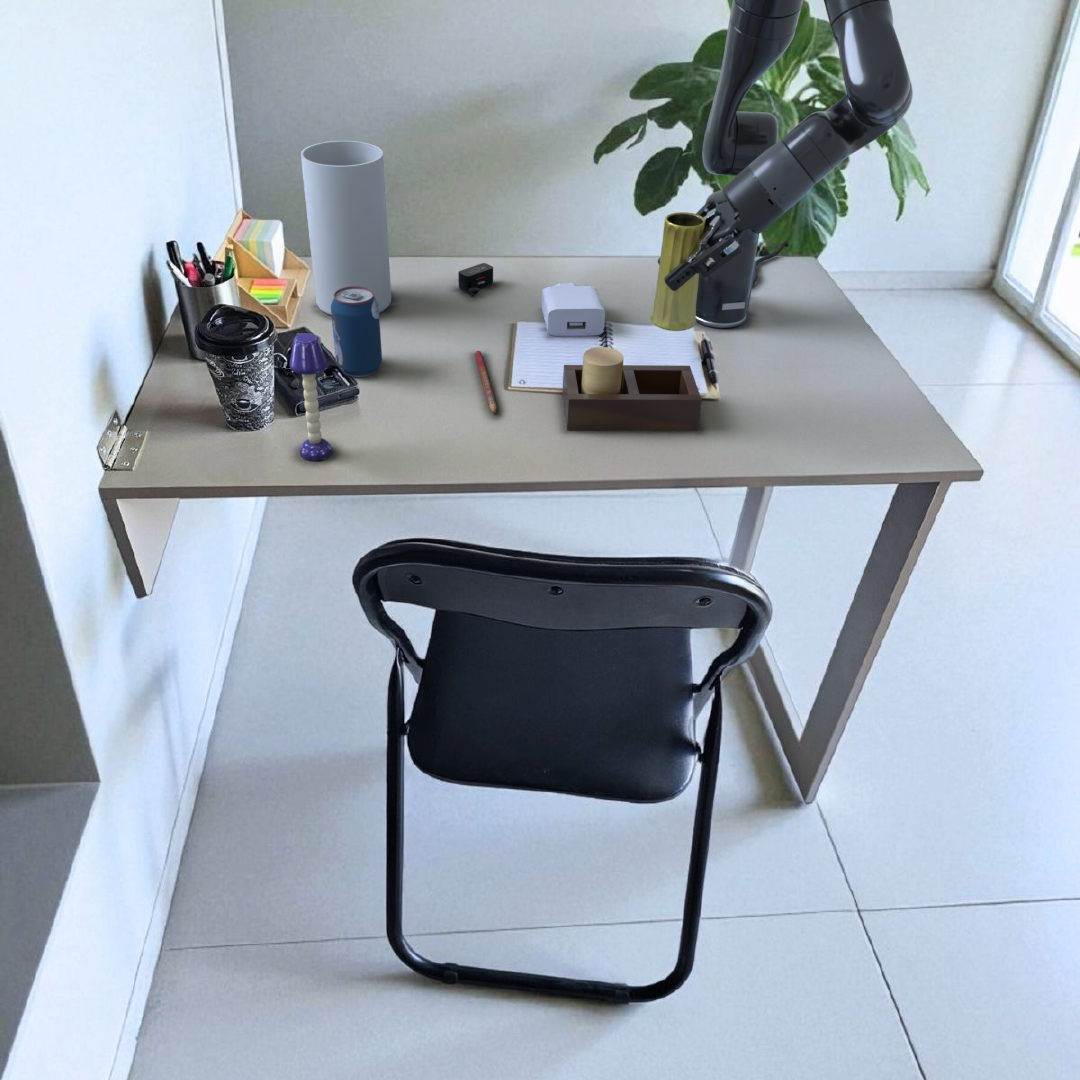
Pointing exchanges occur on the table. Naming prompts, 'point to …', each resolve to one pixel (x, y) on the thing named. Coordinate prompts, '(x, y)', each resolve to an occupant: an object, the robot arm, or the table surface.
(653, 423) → the rack
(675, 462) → the table surface
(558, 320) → the charger
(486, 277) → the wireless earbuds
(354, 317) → the soda can
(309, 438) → the toy lamp
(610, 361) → the peg
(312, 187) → the cylinder vase
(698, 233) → the vase
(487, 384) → the pencil
